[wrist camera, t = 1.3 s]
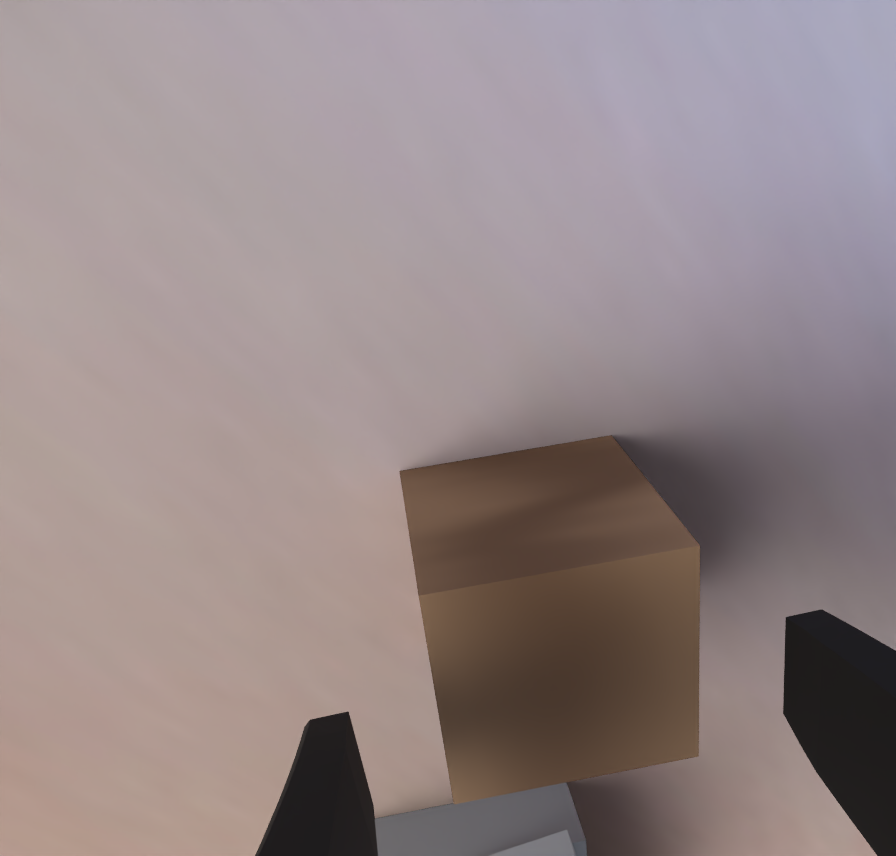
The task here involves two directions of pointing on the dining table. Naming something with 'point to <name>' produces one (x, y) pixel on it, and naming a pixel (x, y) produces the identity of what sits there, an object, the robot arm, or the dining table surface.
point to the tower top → (543, 847)
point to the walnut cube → (555, 616)
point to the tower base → (482, 825)
